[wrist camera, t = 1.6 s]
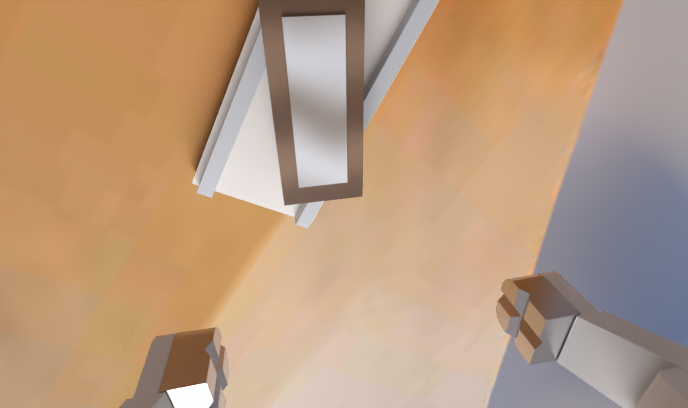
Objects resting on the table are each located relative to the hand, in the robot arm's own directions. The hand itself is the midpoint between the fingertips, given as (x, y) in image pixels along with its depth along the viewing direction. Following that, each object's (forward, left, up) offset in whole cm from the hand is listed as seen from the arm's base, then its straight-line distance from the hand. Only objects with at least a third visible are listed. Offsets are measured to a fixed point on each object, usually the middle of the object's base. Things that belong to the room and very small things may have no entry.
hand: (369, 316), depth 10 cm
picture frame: (-1, 0, -20) cm, 20 cm away
